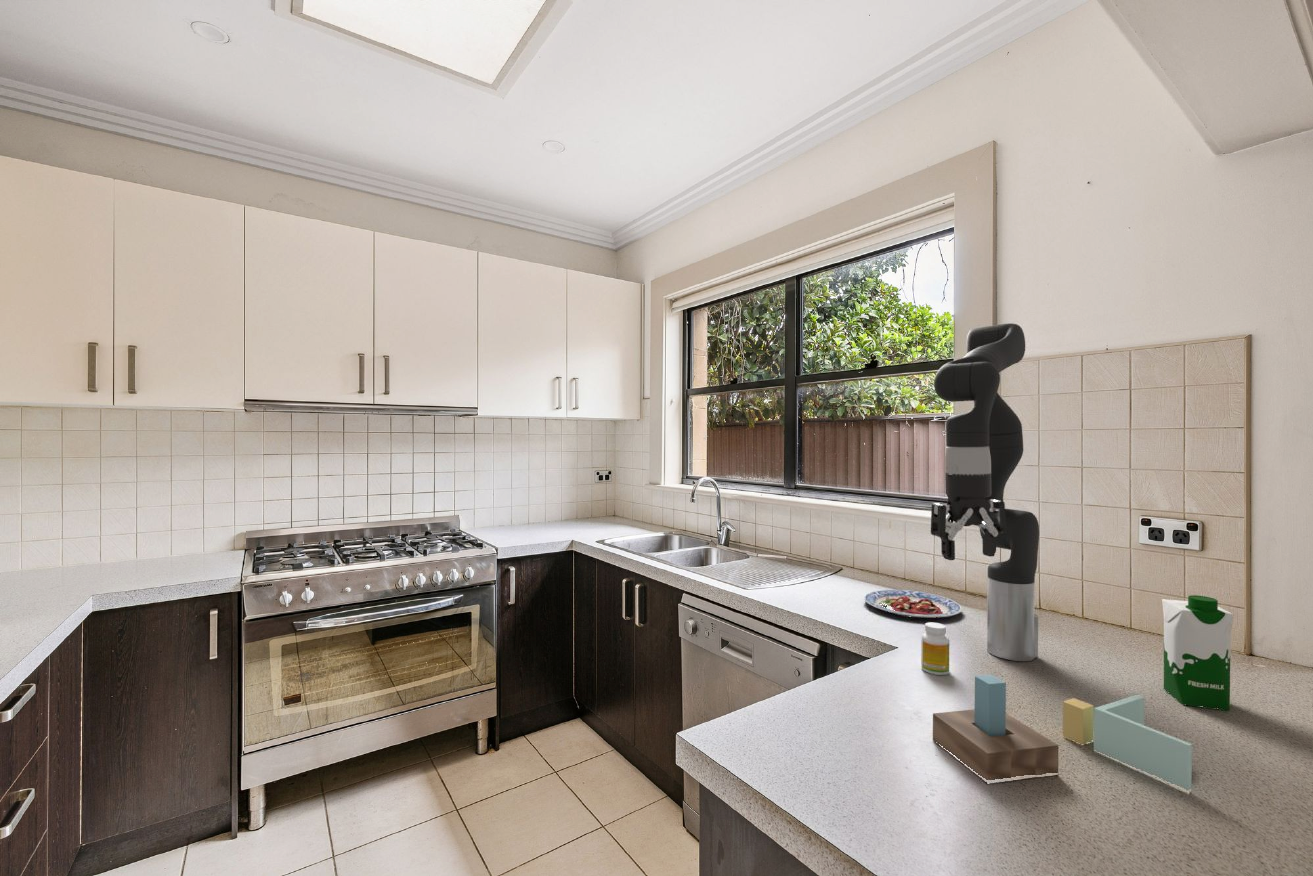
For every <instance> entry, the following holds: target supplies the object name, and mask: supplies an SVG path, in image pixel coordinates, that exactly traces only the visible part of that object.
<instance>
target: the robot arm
mask: <svg viewBox="0 0 1313 876" xmlns="http://www.w3.org/2000/svg"><path fill="white" fill-rule="evenodd" d="M1025 352H1026V337H1025V333H1024V330H1023V328H1022V327H1021V326H1020V325H1018V324H1016V323H1001V324H995V325H989V326H980V327H976V328H972V329H970V330H969V331H968V332H967V336H966V354H965V355H964V356H963V357H962V358H957V359H955V360H951V361H948V362H947V363H945V364H943V365H942V366H941V367H940V368H939V369H938V370H937V372H936V374H935V376H934V380H933V386H934V387H933V388H934V391H935V393H936V395H937V396H938V398H939V399H941V400H942V401H945V402H973V408H972V409H970V410H969V411H967V412H963V413H958V414H954V415H951V416H949V417H948V418H947V420H946V423H945V438H946V441H945V443H946V444H945V445H946V448H945V457H944V470H945V471H944V476H945V478H944V480H945V481H944V482H945V484H944V485H945V487H944V488H945V491H944V492H945V495H946V497H947V502H946V503H945V504H942V503H937V502H935V503H932V504H931V514H930V516H931V517H930V534H931V535H932V536H935V537H938V538H940V541H941V549H940V550H941V556H942V557H943V558H944V559H945V560H947V561H954V560H955V559H956V544H955V542H956V541H955V537H956V535H957V534H958V533H959V532H960V531H962V530H963V527H970V526H977V527H978V528H979V532H980V533H979V534H980V538H981V539H982V543H981V544H982V555H984V556H987V557H991V558H993V557H995V554H996V552H997V549H998V548H999V549H1005V550H1008V551H1009V550H1010V556H1009V559H1006V560H1005V561H999V562H992V563H990V564H989V565H988V566H987V594H986V595H987V597H986V598H987V604H986V605H987V609H986V610H987V614H986V617H987V618H986V620H987V621H986V622H987V623H986V624H987V625H986V629H987V630H986V631H987V632H986V650H987V653H989V654H991V655H993V656H995V657H997V658H1001V659H1003V660H1009V661H1013V662H1014V661H1015V662H1030V661H1032V660H1034V659H1035V658H1038V657H1039V616H1038V614H1037V613H1035V598H1036V597H1035V596H1036V595H1035V593H1036V592H1035V591H1036V589H1035V588H1036V586H1035V582H1036V572H1037V569H1038V560H1039V559H1038V558H1039V557H1038V555H1039V545H1040V544H1039V542H1040V525H1039V520H1038V518H1037V517H1036V514H1034V513H1033V512H1031V511H1027V510H1021V509H1012V508H1011V509H1010V508H1006V505H1005V501H1004V493H1005V487H1006V484H1007V482H1008V480H1009V478H1010V477H1011V475H1012V474H1013V473H1014V471H1015V469H1016V468H1017V467H1018V465H1019V463H1020V462H1021V460H1022V456H1024V455H1023V454H1024V437H1023V434H1024V433H1023V424H1022V422H1021V420H1020V418H1019V417H1018V415H1017V414H1016V413H1015V412H1014V410H1013V409H1012V408H1011V407H1010V405H1009V404H1008V403H1007V402H1006V401H1005V400H1004V399H1003V398H1002V397H1001V396H1000V394H999V392H998V390H999V388H1000V387H999V386H1000V384H1001V375H1000V373H1001V372H1002V371H1004V370H1006V369H1007V368H1009V367H1012V366H1013V365H1015V364H1018V363H1019V362H1021V361H1023V358H1024V356H1025Z"/></svg>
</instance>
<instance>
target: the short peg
mask: <svg viewBox="0 0 1313 876" xmlns="http://www.w3.org/2000/svg"><path fill="white" fill-rule="evenodd" d="M1063 736H1064V737H1066V738H1069V739H1071V740H1074V741H1075V742H1078V743H1080V744H1086V743H1087V742H1091V741H1092V740H1093V741H1094V705H1093V704H1091V703H1088V702H1086V701H1082V700H1079V699H1077V698H1075V697H1072V698H1070V699H1067V700H1064V701H1062V737H1063Z"/></svg>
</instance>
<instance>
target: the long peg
mask: <svg viewBox="0 0 1313 876" xmlns="http://www.w3.org/2000/svg"><path fill="white" fill-rule="evenodd" d="M1006 699H1007V682H1005V681H1003V680H1001V679H1000V678H998V677H996V676H994V675H992V674H984V675H974V709H975V725H974V726H976V727H977V728H979V729H980V730H982V731H983V732H985V733H986V734H987V735H989V736H990V737H993V736H1003V735H1006V713H1007V711H1006V710H1007V708H1006V707H1007V705H1006V704H1007V700H1006Z"/></svg>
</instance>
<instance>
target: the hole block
mask: <svg viewBox="0 0 1313 876" xmlns="http://www.w3.org/2000/svg"><path fill="white" fill-rule="evenodd" d="M974 725H975V708H974V709H967V710H965V709H964V710H955V711H945V712H944V711H943V712H937V713H936V712H935V713H934V712H933V713H932V741H933V740H934V741H935V742H937V743H938V744H940V745H941V746H943V748H945V749H946V750H948V751H949V752H951V753H952V754H953V755H955V756H956V757H957V758H958V759H960V761H962V762H963V763H964V764H966V765H967V766H968V767H970V768H971V769H973V771H975V772H976V773H978V775H980V776H982V777H983V778H985V779H986V780H995V779H1003V778H1011V777H1016V776H1024V775H1042V774H1046V773H1058V774H1059V747H1060V745H1059V744H1057V743H1055V742H1054V741H1053V740H1051V739H1049V738H1048V737H1046V736H1044V735H1043V734H1041V733H1039V732H1037V731H1036V730H1035V729H1033V728H1031V727H1030V726H1028V725H1027V724H1024V722H1022V721H1020V720H1018V719H1017V718H1015V717H1014V716H1011V714H1009V713H1007V712H1006V735H1003V736H993V737H990V736H989V735H987V734H986V733H985V732H983V731H982V730H980V729H979V728H977V727H976V726H974ZM934 741H933V742H934ZM935 742H934V743H935ZM938 744H937V745H938ZM943 748H942V749H943Z"/></svg>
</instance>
